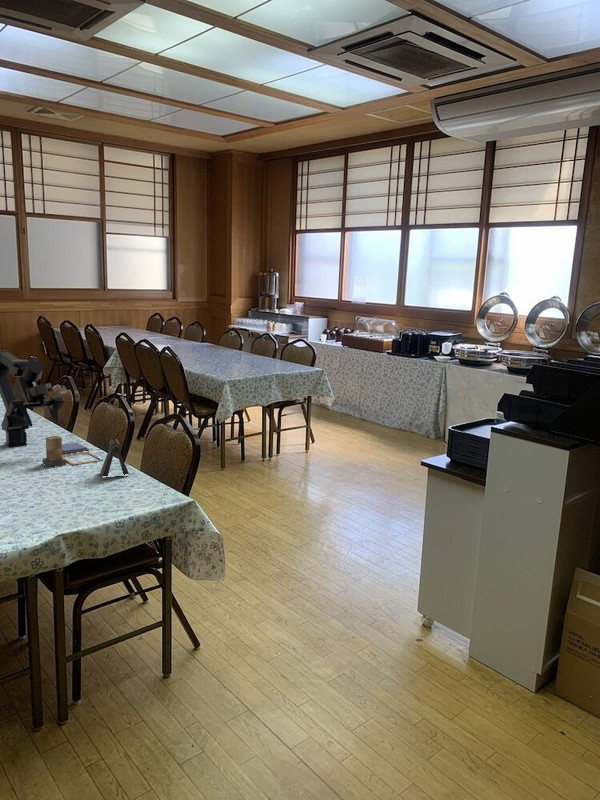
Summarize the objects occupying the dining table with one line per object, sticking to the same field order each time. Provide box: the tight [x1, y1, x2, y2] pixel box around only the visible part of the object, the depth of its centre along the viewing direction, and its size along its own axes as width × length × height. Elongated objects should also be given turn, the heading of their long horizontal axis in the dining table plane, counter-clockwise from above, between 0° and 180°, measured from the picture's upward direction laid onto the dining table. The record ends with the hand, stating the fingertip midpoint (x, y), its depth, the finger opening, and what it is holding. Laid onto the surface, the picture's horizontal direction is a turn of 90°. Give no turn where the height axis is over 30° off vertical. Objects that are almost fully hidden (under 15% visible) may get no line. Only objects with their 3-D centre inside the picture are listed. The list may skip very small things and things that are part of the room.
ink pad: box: [62, 442, 90, 455], centre depth 234 cm, size 10×10×2 cm
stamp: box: [42, 435, 67, 468], centre depth 215 cm, size 6×6×10 cm
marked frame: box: [62, 450, 98, 466], centre depth 224 cm, size 12×13×1 cm
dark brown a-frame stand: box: [100, 438, 130, 477], centre depth 207 cm, size 9×6×12 cm, turn 112°
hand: (44, 424), depth 218 cm, fingers open, 9 cm apart
